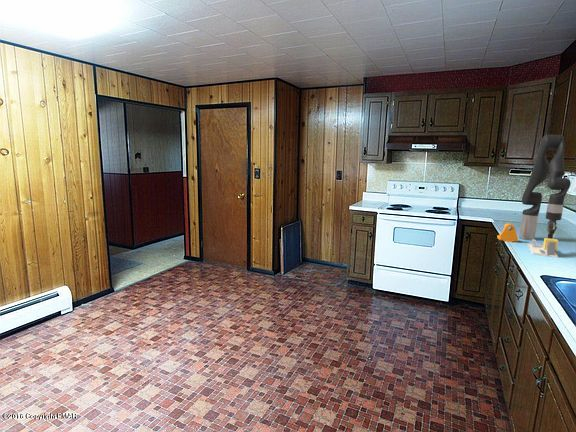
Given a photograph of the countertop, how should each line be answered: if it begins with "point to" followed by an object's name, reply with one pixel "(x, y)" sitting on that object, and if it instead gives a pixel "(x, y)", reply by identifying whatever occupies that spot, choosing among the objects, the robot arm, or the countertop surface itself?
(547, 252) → the rail plate
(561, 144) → the robot arm
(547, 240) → the yellow block
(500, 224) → the countertop surface
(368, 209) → the countertop surface
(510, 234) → the bracket
